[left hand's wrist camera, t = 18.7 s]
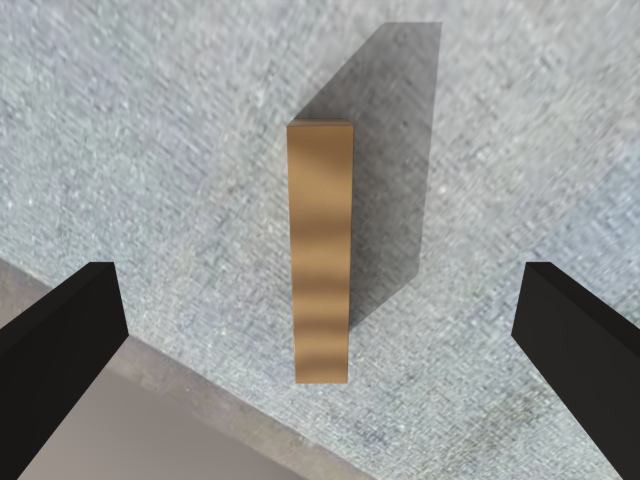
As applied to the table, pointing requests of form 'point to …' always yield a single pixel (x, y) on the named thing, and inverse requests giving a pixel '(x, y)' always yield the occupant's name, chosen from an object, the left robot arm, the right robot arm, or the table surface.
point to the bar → (320, 245)
